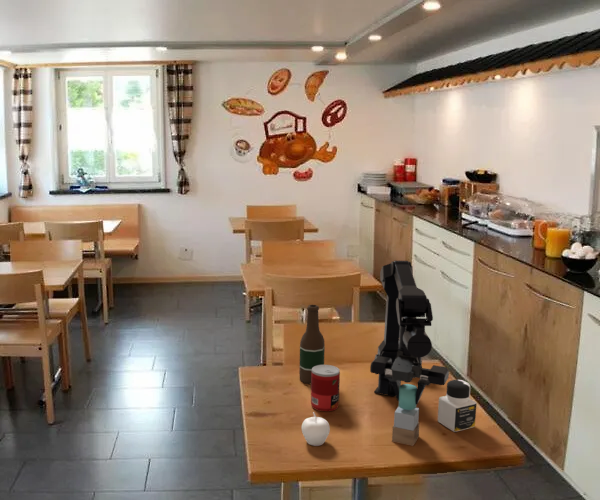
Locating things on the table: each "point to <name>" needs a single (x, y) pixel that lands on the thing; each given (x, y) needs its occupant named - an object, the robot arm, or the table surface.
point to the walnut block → (405, 435)
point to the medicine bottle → (457, 407)
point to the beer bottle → (311, 346)
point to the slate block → (406, 418)
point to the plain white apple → (315, 430)
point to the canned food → (325, 387)
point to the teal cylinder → (407, 396)
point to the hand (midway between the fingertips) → (407, 402)
